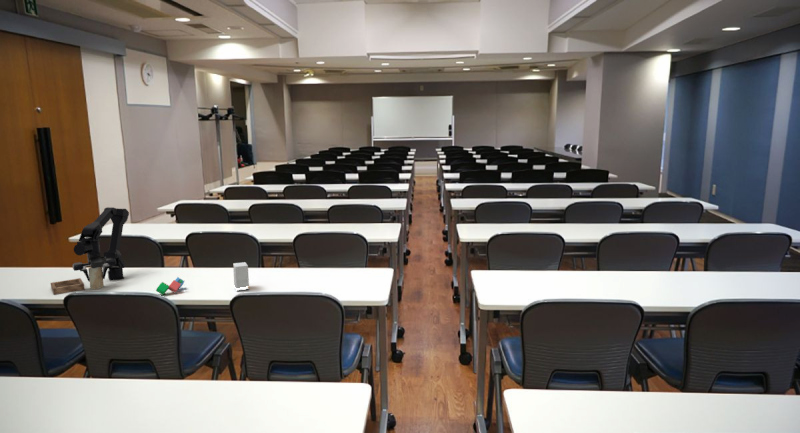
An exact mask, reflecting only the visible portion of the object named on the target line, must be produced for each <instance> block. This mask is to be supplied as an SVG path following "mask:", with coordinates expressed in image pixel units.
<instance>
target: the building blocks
mask: <svg viewBox="0 0 800 433" xmlns="http://www.w3.org/2000/svg"><path fill="white" fill-rule="evenodd" d="M184 283H185V280H183V279H182V278H180V277H179V276H177V277H176V278H175V279H174V280H173V281H171V283H170V284H167V283H166V282H164V281H162V282H161V283H160V284H159V285H158V286H157V287H156V290H155V291H156V292H158V293H159V294H161V295H162V296H164V295H165V294H166V293H167V291H168V290H169V291H171V292H172V293H174V292H175V293H176V292H177V291H179V290H180V289H181V288H182V286H184ZM179 288H180V289H179ZM178 289H179V290H178ZM163 294H164V295H163Z"/></svg>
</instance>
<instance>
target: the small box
mask: <svg viewBox="0 0 800 433" xmlns="http://www.w3.org/2000/svg"><path fill="white" fill-rule="evenodd" d="M232 264H233V267H232V268H233V286H234V285H235V287H236V288H240V287H246V286H249V287H250V282H249V265H248V264H247V262H245V261H244V262H243V261H242V262H234V263H232Z"/></svg>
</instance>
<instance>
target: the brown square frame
mask: <svg viewBox="0 0 800 433" xmlns="http://www.w3.org/2000/svg"><path fill="white" fill-rule="evenodd" d="M50 289H51V291H52V293H53V295H54V296H55V295H59V294H66V293H72V292H77V291H83V290H84V291H85V283H84V282H83V280H82V279H81V278H73V279H67V280H61V281H53V282H50Z"/></svg>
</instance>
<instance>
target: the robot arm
mask: <svg viewBox="0 0 800 433" xmlns="http://www.w3.org/2000/svg"><path fill="white" fill-rule="evenodd" d="M129 215H130V213H129V211H128V209H126V208H116V207H109V206H107V207H105V208H104V209H103V211H102V212H101V213H100V214H99V215H98V217H96V219H95V220H94V221H93V222H91V223H89V224H87V225H85V226H84V227H83V228H82V231H81V233H80V236H79V239H78V241H76V244H75V245H74V247H73V253H74V254H75V255H76V256H83V255H86V257H87V262H85V263H83V262H82V261H81V262H73V264H72V269H73V271H80V272H83V274H84V276H85V277H86V280H87V282H90V280H89V270H88V267H89V268H91V267H92V268H96V267H102V271H103V280H105V278H106V275H107V277H108V279H109V280H110V281H116V280H122V279H123V280H124V279H125V277H124V272H123V269H125V267H126V261H125V260H123V258H122V257H123V255H122V254H121V250H120V247H121V242H122V236H123V231H124V225H125V224H126V222H127V221H128V219H129ZM110 220H111V222H112V229H111V235H110V241H109V246H108V247H109V248H108V250H107V251H105V252H104V253H103V256H101V246H100V241H102V238H101V237H100V236H101V235H102V233H103V228H104V227H105V226H106V224H108V222H109V221H110Z"/></svg>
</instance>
